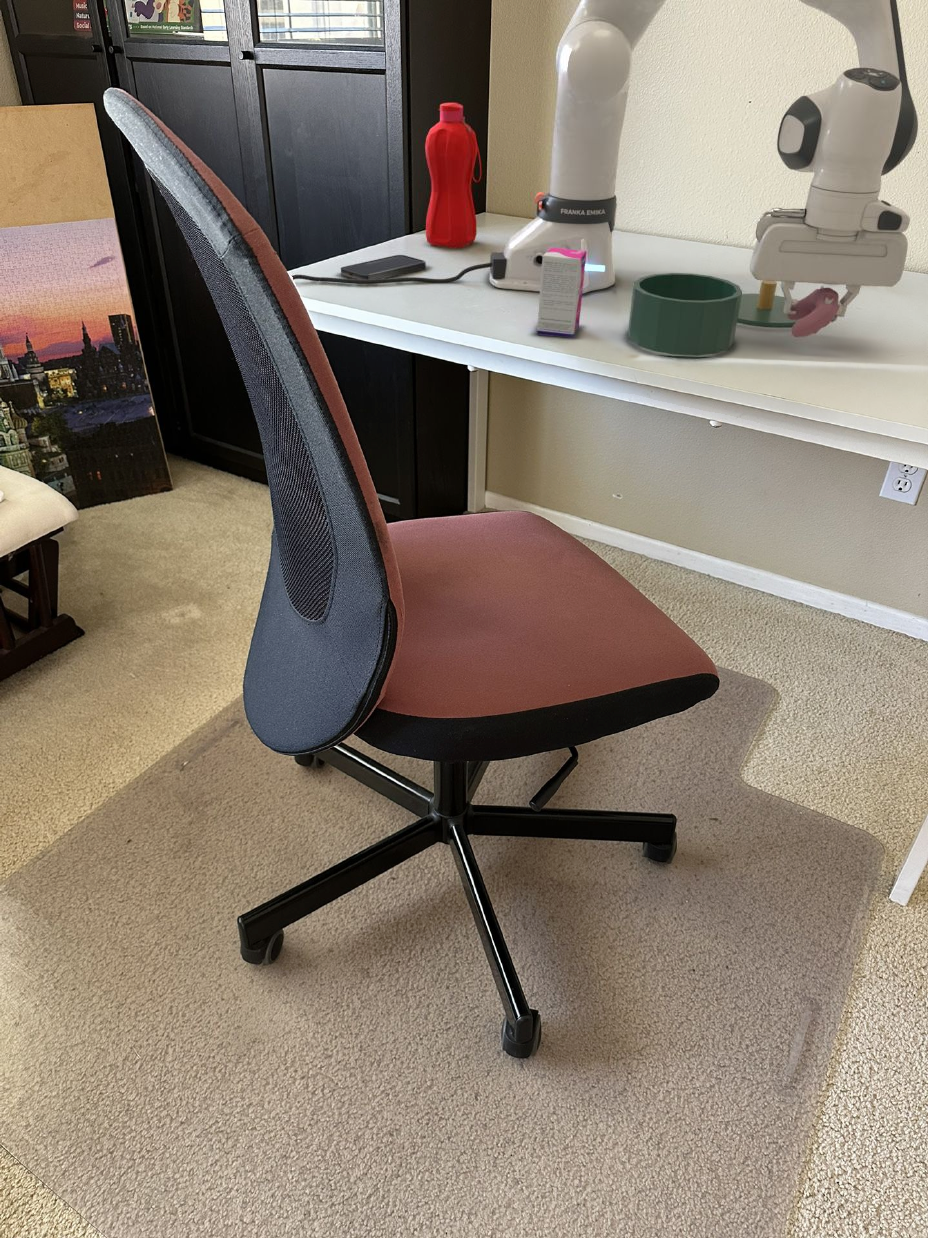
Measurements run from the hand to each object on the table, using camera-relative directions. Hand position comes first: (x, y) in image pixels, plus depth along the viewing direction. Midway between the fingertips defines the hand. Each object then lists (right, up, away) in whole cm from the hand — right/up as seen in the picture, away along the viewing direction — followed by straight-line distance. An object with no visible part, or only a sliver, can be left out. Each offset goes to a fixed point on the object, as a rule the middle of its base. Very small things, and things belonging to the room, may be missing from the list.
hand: (813, 314), depth 129 cm
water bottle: (-52, +32, +54) cm, 82 cm away
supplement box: (-36, 0, +9) cm, 37 cm away
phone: (-65, +20, +36) cm, 77 cm away
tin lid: (-2, +6, +16) cm, 17 cm away
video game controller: (0, -2, +1) cm, 2 cm away
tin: (-18, -2, +5) cm, 19 cm away
